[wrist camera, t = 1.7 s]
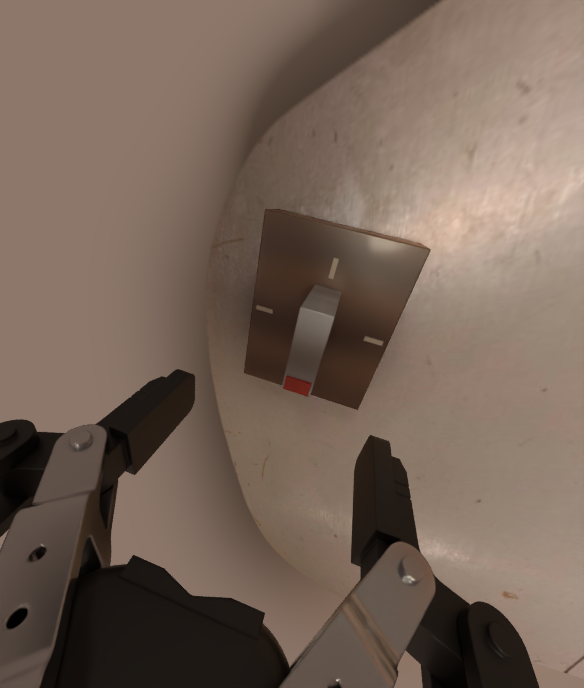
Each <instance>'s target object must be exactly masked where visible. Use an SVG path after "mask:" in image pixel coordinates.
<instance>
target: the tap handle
mask: <svg viewBox="0 0 584 688" xmlns="http://www.w3.org/2000/svg"><path fill="white" fill-rule="evenodd" d="M340 296H341V292H340V291H337V290H333V289H330V288H326V287H322V286H319V285H314V287H313V288H312V290H311V292H310V293H309V295H308V296H307V298H306V299H305V301H304V303H303V304H302V306H301V307H300V311H299V315H298V319H297V324H296V328H295V332H294V336H293V341H292V345H291V349H290V354H289V358H288V362H287V367H286V371H285V375H284V379H283V384H282V388H283V389H286V390H289V391H292V392H295V393H298V394H301V395H304V396H310V395H311V392H312V388H313V385H314V382H315V379H316V376H317V372H318V369H319V366H320V363H321V360H322V356H323V353H324V350H325V347H326V344H327V341H328V337H329V334H330V331H331V328H332V325H333V321H334V318H335V315H336V311H337V307H338V303H339V299H340Z"/></svg>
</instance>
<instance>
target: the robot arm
mask: <svg viewBox="0 0 584 688" xmlns="http://www.w3.org/2000/svg"><path fill="white" fill-rule="evenodd" d="M194 401H195V376H194V375H193V374H190V373H188V372H185V371H182V370H178V369H177V370H175V371H174V372H172V373H171V374H170V375H169V376H168V377H160V378H157V379H155V380H152V381H150V382H148V383H147V384H146V385H145V386H143V387H142V388H141V389H140V391H137V392H136V393H135V394H133V395H132V397H131V398H128V399H127V400H126V401H125V402H124V403H122V404H121V405H120V406H118V407H117V408H116V409H115V410H113V411H112V412H111V413H110V414H109V415H107V416H106V417H105V418H103V419H102V420H101V421H100V422H98V423H97V424H95V425H93V424H92V425H83V426H79V427H76V428H74V429H71V430H69V431H68V432H66V433H50V432H49V433H48V432H37V431H36V428H35V426H34V424H33V423H32V422H30V421H28V420H11V421H6V422H2V423H0V537H1V536H2V535H3V534H4V533H5V532H6V531H7V530H8V529H9V531H8V533H7V535H6V538H5V540H4V542H3V545H2V547H1V550H0V688H394V686H395V683H396V680H397V677H398V670H397V666H398V663H399V661H400V659H401V657H402V655H403V653H404V651H405V650H406V651H407V652H408V653H409V654H410V655H411V656H412V657H413V658H415V659H416V660H417V661H418V662H419V663H420V664H421V671H422V683H423V688H539V685H538V682H537V679H536V676H535V673H534V670H533V667H532V664H531V661H530V658H529V655H528V652H527V650H526V647H525V645H524V643H523V641H522V639H521V637H520V636H519V634H518V632H517V631H516V629H515V628H514V627H513V625H512V624H511V623H510V622H509V620H508V619H507V618H506V617H505V616H504V615H503V614H502V613H501V612H500V611H499V610H497V609H496V608H495V607H493V606H491V605H490V604H488V603H485V602H480V601H479V602H475V603H473V604H471V605H470V604H469V603H467V602H466V601H465V600H463V599H462V598H461V597H460V596H458V595H457V594H456V593H454V592H453V591H452V590H450V589H449V588H448V587H447V586H445V585H444V584H443V583H442V582H440V581H439V580H438V579H437V578H436V577H435V576H434V574H433V572H432V570H431V567H430V565H429V564H428V562H427V560H426V559H425V558H424V556H423V555H422V554H421V552H420V549H419V545H418V539H417V533H416V527H415V521H414V515H413V509H412V503H411V500H410V498H411V496H410V490H409V488H408V487H409V484H408V478H407V472H406V470H405V468H404V467H403V465H402V463H401V461H400V459H398V458H395V457H392V456H391V447H390V443H389V441H386V440H384V439H381V438H378V437H375V436H372V435H370V436H369V437H368V439H367V441H366V443H365V445H364V447H363V449H362V450H361V452H360V454H359V456H358V458H357V461H356V465H355V470H354V492H353V520H352V547H351V563H352V564H355V565H357V566H360V567H361V579H360V581H359V582H358V583H357V584H356V586H355V587H354V588H353V589H352V591H351V592H350V593H349V594H348V595H347V597H346V598H345V599H344V601H343V602H342V603H341V604H340V606H339V607H338V608H337V609H336V610H335V612H334V613H333V614H332V616H331V617H330V618H329V619H328V620H327V622H326V623H325V624H324V625H323V627H322V628H321V629H320V630H319V631H318V633H317V634H316V635H315V636H314V637H313V639H312V640H311V641H310V642H309V644H308V645H307V646H306V647H305V648H304V650H303V651H302V652H301V653H300V655H299V656H298V657H297V659H296V660H295V661H294V662H293V663H292V665H291V666H290V667H289V664H288V661H287V659H286V657H285V654H284V652H283V650H282V648H281V646H280V645H279V643H278V641H277V640H276V638H275V637H274V635H273V634H272V633H271V631H270V630H269V629H268V628H267V627H266V626H265V625H264V624H263V619H264V615H265V613H264V612H261V611H259V610H257V609H255V608H252V607H250V606H248V605H246V604H243V603H241V602H239V601H236V600H234V599H232V598H221V597H203V596H192V595H190V594H189V593H188V592H187V591H186V590H185V589H184V588H183V587H182V586H181V585H180V584H179V583H178V582H177V581H176V580H175V579H174V578H173V577H172V576H171V575H170V574H169V573H168V572H167V571H166V570H165V569H164V568H162V567H160V566H157V565H155V564H153V563H151V562H148V561H146V560H144V559H142V558H139V557H137V556H135V555H133V556H132V558H131V559H130V561H129V562H128V564H125V565H124V564H123V565H114V566H110V562H111V529H112V522H113V514H114V508H115V500H116V493H117V487H118V478H119V477H120V476H121V475H122V474H123V473H124V472H125V471H126V472H129V473H131V474H134V475H135V474H136V473H137V472H138V471H139V470H140V469H141V468H142V466H143V465H144V464H145V463H146V462H147V460H148V459H149V458H150V457H151V456H152V455H153V454H154V452H155V451H156V450H157V449H158V448H159V447H160V446H161V444H162V443H163V442H164V441H165V440H166V439H167V437H168V436H169V435H170V434H171V433H172V432H173V431H174V429H175V428H176V427H177V426H178V425H179V423H180V422H181V421H182V420H183V419H184V418H185V417H186V416H187V414H188V413H189V412H190V411H191V409H192V407H193V404H194Z"/></svg>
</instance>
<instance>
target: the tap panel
mask: <svg viewBox="0 0 584 688" xmlns="http://www.w3.org/2000/svg"><path fill="white" fill-rule="evenodd" d="M429 253H430V249H429V248H427V247H426V246H424V245H422V244H420V243H416V242H412V241H408V240H404V239H399V238H395V237H391V236H387V235H383V234H379V233H375V232H371V231H366V230H362V229H358V228H354V227H350V226H346V225H342V224H338V223H333V222H329V221H325V220H321V219H317V218H313V217H309V216H305V215H300V214H296V213H292V212H288V211H284V210H280V209H265V214H264V222H263V230H262V237H261V245H260V253H259V260H258V268H257V276H256V284H255V291H254V299H253V307H252V315H251V322H250V330H249V338H248V345H247V353H246V361H245V369H244V373H246V374H249V375H252V376H255V377H258V378H261V379H264V380H267V381H270V382H274V383H277V384H280V385H282V384H283V379H284V375H285V371H286V367H287V362H288V358H289V354H290V349H291V345H292V341H293V336H294V332H295V328H296V324H297V319H298V315H299V311H300V307H301V306H302V304H303V303H304V301H305V299H306V298H307V296H308V295H309V293H310V292H311V290H312V288H313V287H314V285H319V286H322V287H326V288H330V289H333V290H337V291H340V292H341V296H340V299H339V303H338V307H337V311H336V315H335V318H334V321H333V325H332V328H331V331H330V334H329V337H328V341H327V344H326V347H325V350H324V353H323V356H322V360H321V363H320V366H319V369H318V372H317V376H316V379H315V382H314V385H313V388H312V392H311V395H314V396H317V397H320V398H323V399H326V400H329V401H332V402H335V403H338V404H341V405H344V406H347V407H350V408H354V409H357V410H358V408H359V406H360V403H361V401H362V399H363V397H364V395H365V393H366V390H367V388H368V386H369V384H370V382H371V379H372V377H373V375H374V373H375V371H376V369H377V366H378V364H379V362H380V360H381V358H382V355H383V353H384V351H385V349H386V347H387V344H388V342H389V340H390V338H391V336H392V334H393V331H394V329H395V327H396V325H397V323H398V320H399V318H400V316H401V314H402V312H403V309H404V307H405V305H406V303H407V301H408V299H409V296H410V294H411V292H412V290H413V288H414V285H415V283H416V281H417V279H418V277H419V274H420V272H421V270H422V268H423V266H424V264H425V261H426V259H427V257H428V255H429Z"/></svg>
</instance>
